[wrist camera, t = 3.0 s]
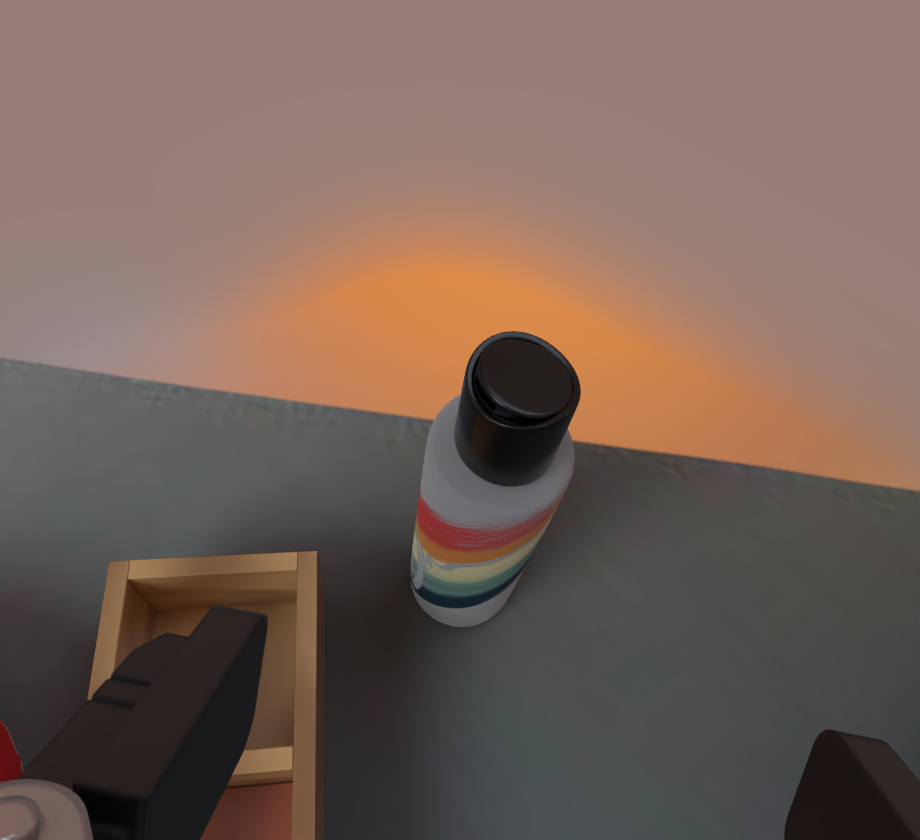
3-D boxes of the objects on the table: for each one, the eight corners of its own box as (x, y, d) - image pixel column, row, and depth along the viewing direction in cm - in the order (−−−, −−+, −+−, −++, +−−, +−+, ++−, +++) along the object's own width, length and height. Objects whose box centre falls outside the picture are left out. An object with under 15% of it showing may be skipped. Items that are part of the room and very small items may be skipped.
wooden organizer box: (324, 590, 39) (317, 550, 33) (323, 1003, 30) (313, 1034, 25) (144, 600, 37) (109, 560, 32) (87, 1035, 28) (25, 1075, 23)
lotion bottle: (391, 554, 40) (407, 332, 23) (481, 515, 42) (556, 282, 25) (436, 648, 38) (490, 478, 21) (529, 602, 39) (649, 411, 22)
